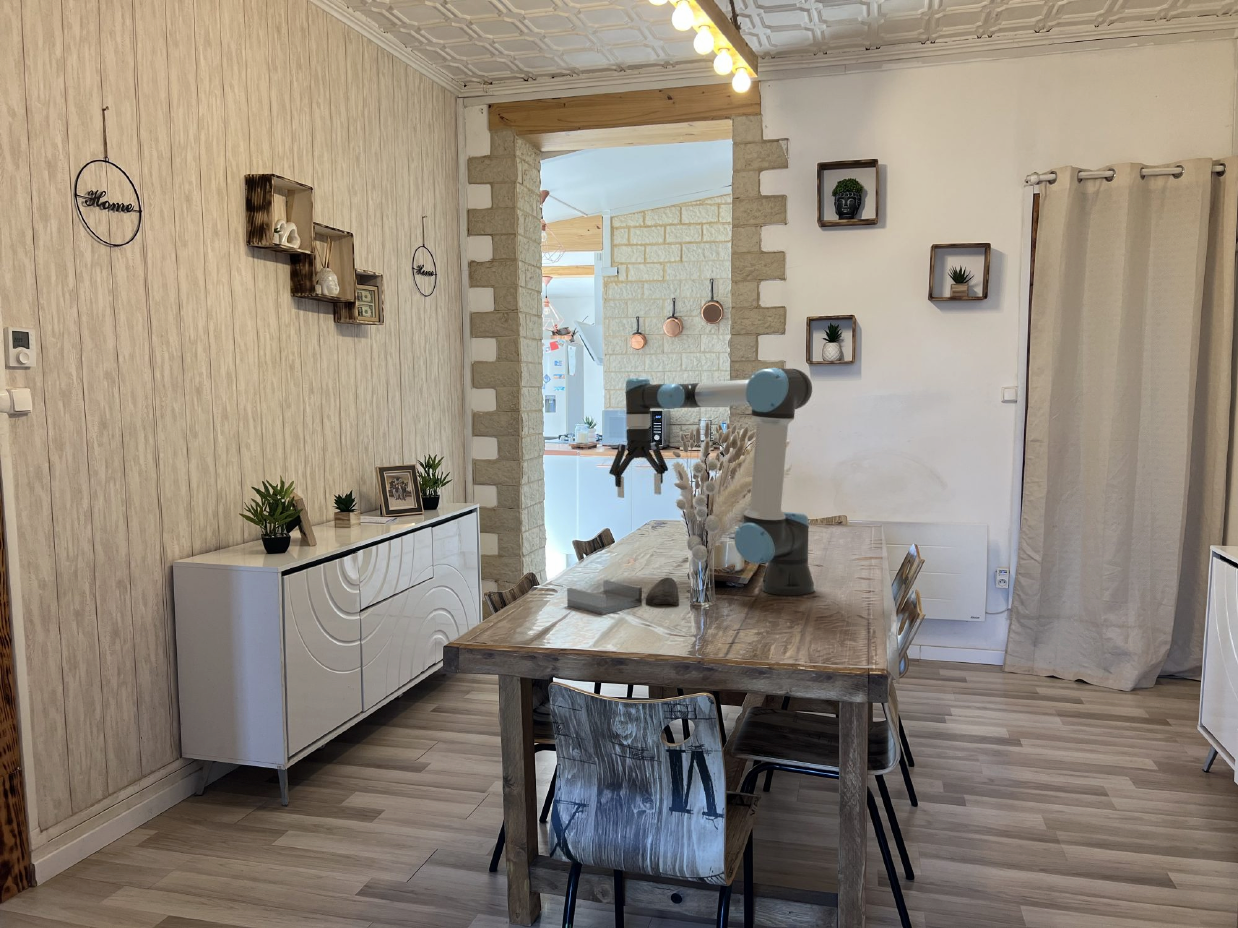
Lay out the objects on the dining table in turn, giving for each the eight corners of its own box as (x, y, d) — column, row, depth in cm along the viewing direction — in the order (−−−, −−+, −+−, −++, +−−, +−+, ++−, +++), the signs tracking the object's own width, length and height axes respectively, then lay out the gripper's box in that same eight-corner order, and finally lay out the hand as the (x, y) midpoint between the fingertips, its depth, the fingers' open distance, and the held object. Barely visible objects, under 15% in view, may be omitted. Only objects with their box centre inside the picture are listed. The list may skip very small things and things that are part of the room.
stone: (660, 622, 245) (687, 596, 244) (639, 599, 246) (665, 573, 245) (664, 618, 254) (689, 594, 254) (643, 596, 256) (668, 572, 255)
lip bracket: (641, 604, 248) (641, 587, 248) (602, 614, 238) (602, 596, 237) (606, 596, 258) (606, 579, 258) (567, 606, 248) (567, 588, 247)
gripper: (665, 426, 289) (665, 491, 291) (597, 429, 277) (598, 497, 278) (678, 426, 283) (679, 493, 285) (609, 429, 270) (611, 499, 272)
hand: (639, 495), depth 281 cm, fingers open, 13 cm apart
